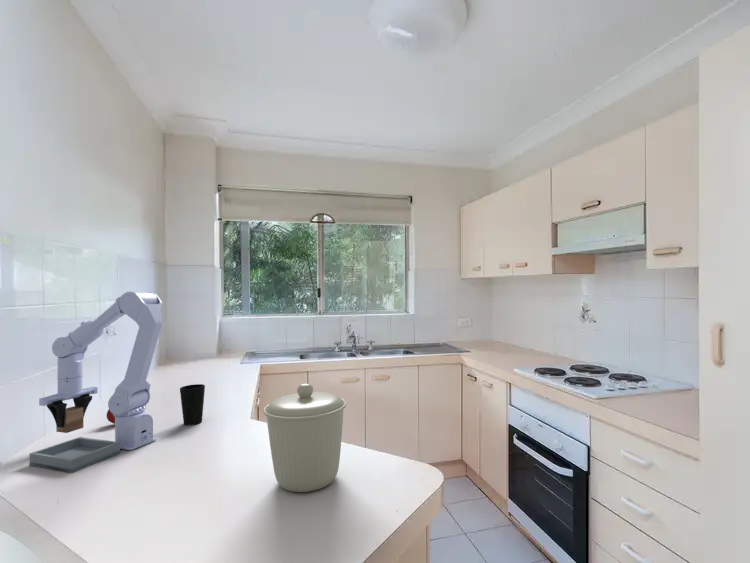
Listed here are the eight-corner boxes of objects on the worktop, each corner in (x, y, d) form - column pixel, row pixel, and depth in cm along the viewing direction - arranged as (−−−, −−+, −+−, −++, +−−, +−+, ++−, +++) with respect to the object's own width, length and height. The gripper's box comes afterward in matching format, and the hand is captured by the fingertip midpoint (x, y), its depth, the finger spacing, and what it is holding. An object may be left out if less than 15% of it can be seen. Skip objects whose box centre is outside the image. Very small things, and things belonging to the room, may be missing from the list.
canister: (249, 482, 83) (247, 385, 84) (317, 456, 95) (314, 372, 96) (294, 514, 70) (291, 398, 71) (365, 479, 82) (362, 381, 83)
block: (83, 427, 112) (83, 407, 112) (66, 433, 108) (66, 411, 108) (73, 426, 114) (73, 406, 114) (56, 431, 109) (56, 410, 110)
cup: (198, 426, 123) (198, 389, 124) (175, 426, 123) (175, 389, 124) (209, 418, 131) (208, 383, 131) (187, 419, 131) (187, 384, 131)
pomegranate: (110, 428, 124) (110, 403, 124) (103, 425, 127) (104, 401, 128) (130, 423, 128) (130, 399, 129) (123, 420, 132) (123, 397, 132)
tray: (119, 453, 102) (119, 442, 102) (71, 473, 91) (71, 460, 91) (79, 447, 108) (80, 436, 108) (29, 465, 96) (29, 453, 96)
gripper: (86, 372, 120) (86, 415, 119) (32, 382, 106) (32, 431, 105) (102, 372, 117) (102, 417, 117) (48, 383, 104) (48, 433, 103)
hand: (70, 424), depth 111 cm, fingers closed on block, 4 cm apart
